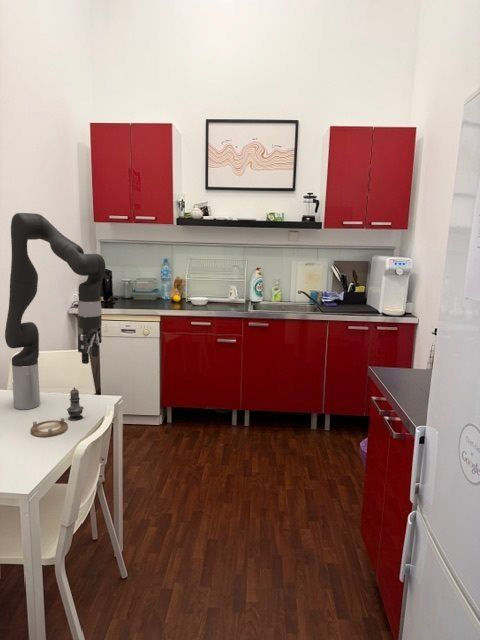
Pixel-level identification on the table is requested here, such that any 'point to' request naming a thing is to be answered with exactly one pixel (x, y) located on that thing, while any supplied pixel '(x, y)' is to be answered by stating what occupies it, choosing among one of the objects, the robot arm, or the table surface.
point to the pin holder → (49, 428)
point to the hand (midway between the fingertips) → (90, 359)
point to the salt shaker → (75, 406)
